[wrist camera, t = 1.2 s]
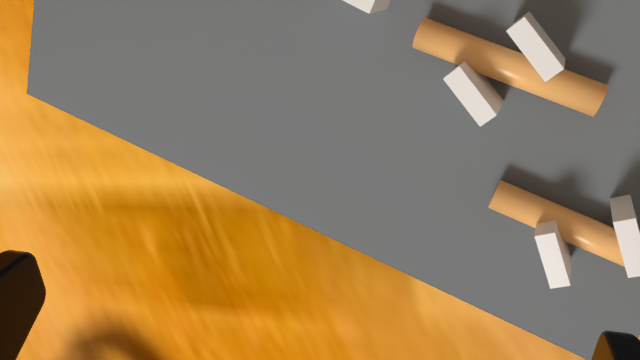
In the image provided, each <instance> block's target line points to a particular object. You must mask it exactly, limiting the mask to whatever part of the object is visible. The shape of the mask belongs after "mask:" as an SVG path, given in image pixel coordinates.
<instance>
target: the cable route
mask: <svg viewBox="0 0 640 360" xmlns="http://www.w3.org/2000/svg"><path fill="white" fill-rule="evenodd" d="M343 1H345V2H347V3H349V4H351V5H353V6H355V7H356V8H358V9H360V10H362V11H364V12H366V13H368V14H371V13H374V12H378V11H381V10H385V9H387V8H388V6H389V4H390V2H391V0H343ZM506 32H507V33H508V34H509V36H510V37H511V38H512V40H513V41H514V42H515V44H516V45H517V46H518V47H519V49H520V50H521V51H522V53H520V52H517V51H514V50H512V49H509V48H506V47H504V46H501V45H498V44H496V43H493V42H490V41H487V40H485V39H482V38H479V37H477V36H474V35H471V34H469V33H466V32H463V31H460V30H458V29H455V28H452V27H450V26H447V25H444V24H441V23H439V22H436V21H433V20H431V19H428V18H425V17H424V18H423V20H422V21H421V23H420V25H419V27H418V29H417V32H416V34H415V37H414V40H413V45H412V47H413V48H415V49H417V50H420V51H422V52H425V53H428V54H430V55H433V56H435V57H438V58H441V59H443V60H446V61H448V62H451V63H454V64H456V65H458V66H456V67H455V68H454V69H453V70H452V71H451V72H450V73H449V74H447V75H446V76H445V77H444V78H443V80H444V81H445V82H446V84H447V85H448V86H449V87H450V89H451V90H452V91H453V93H454V94H455V95H456V97H457V98H458V99H459V100H460V102H461V103H462V104H463V106H464V107H465V108H466V109H467V111H468V112H469V113H470V115H471V116H472V117H473V119H474V120H475V121H476V122H477V124H478V125H479V126H482V125H483V124H485V123H486V122H488V121H489V120H491V119H492V118H493V117H495V116H496V115H497V114H498V112H499V110H500V108H501V106H502V104H503V102H504V100H503V99H502V98H501V96H500V95H499V94H498V93H497V91H496V90H495V89H494V87H493V86H492V85H491V83H490V82H489V81H488V80H487V78H486V77H485V76H487V77H490V78H493V79H495V80H498V81H500V82H503V83H506V84H508V85H511V86H514V87H516V88H519V89H521V90H524V91H527V92H529V93H532V94H534V95H537V96H540V97H542V98H545V99H547V100H550V101H553V102H555V103H558V104H560V105H563V106H566V107H568V108H571V109H573V110H576V111H579V112H581V113H584V114H586V115H589V116H592V117H593V116H594V115H595V114H596V112H597V111H598V109H599V107H600V105H601V104H602V102H603V99H604V97H605V95H606V93H607V90H608V85H606V84H604V83H601V82H598V81H595V80H593V79H590V78H587V77H585V76H582V75H579V74H577V73H574V72H571V71H568V70H566V69H564V66H565V57H564V56H563V55H562V53H561V52H560V51H559V49H558V48H557V47H556V45H555V44H554V43H553V41H552V40H551V39H550V38H549V36H548V35H547V34H546V32H545V31H544V30H543V28H542V27H541V26H540V24H539V23H538V22H537V20H536V19H535V18H534V17H533V15H532V14H531V13H530V11H529V12H527V13H526V14H525V15H523V16H522V17H521V18H520V19H518V20H517V21H516V22H514V23H513V24H512V25H511V26H510V27H509V28H508V29H507V30H506ZM484 75H485V76H484ZM610 206H611V213H612V220H613V225H614V228H613V227H611V226H608V225H606V224H604V223H601V222H599V221H597V220H594V219H592V218H590V217H587V216H585V215H582V214H580V213H578V212H575V211H573V210H571V209H568V208H566V207H563V206H561V205H559V204H556V203H554V202H552V201H549V200H547V199H544V198H542V197H540V196H537V195H535V194H533V193H530V192H528V191H526V190H523V189H521V188H518V187H516V186H514V185H511V184H509V183H507V182H504V181H502V180H500V182H499V184H498V186H497V188H496V190H495V192H494V194H493V197H492V199H491V201H490V203H489V206H488V208H490V209H492V210H494V211H497V212H499V213H501V214H504V215H506V216H508V217H510V218H513V219H515V220H517V221H520V222H522V223H524V224H527V225H529V226H531V227H533V228H536V229H535V236H534V237H535V240H536V243H537V247H538V250H539V253H540V256H541V260H542V263H543V266H544V270H545V273H546V276H547V280H548V283H549V286H550V289H552V288H559V287H566V286H571V256H570V252H569V249H568V245H567V242H568V243H570V244H573V245H575V246H577V247H580V248H582V249H584V250H586V251H589V252H591V253H593V254H596V255H598V256H600V257H603V258H605V259H607V260H609V261H612V262H614V263H616V264H619V265H621V266H623V267H625V269H626V272H627V276H628V278H631V277H638V276H640V229H639V225H638V222H637V218H636V214H635V210H634V207H633V203H632V199H631V195H630V194H629V195H624V196H619V197H614V198H610Z"/></svg>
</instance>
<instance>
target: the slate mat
mask: <svg viewBox="0 0 640 360" xmlns="http://www.w3.org/2000/svg"><path fill="white" fill-rule="evenodd" d="M529 11H530V13H531V14H532V15H533V17H534V18H535V19H536V20H537V22H538V23H539V24H540V26H541V27H542V28H543V30H544V31H545V32H546V34H547V35H548V36H549V38H550V39H551V40H552V41H553V43H554V44H555V45H556V47H557V48H558V49H559V51H560V52H561V53H562V55H563V56H564V57H565V66H564V69H566V70H568V71H571V72H574V73H577V74H579V75H582V76H585V77H587V78H590V79H593V80H595V81H598V82H601V83H604V84H606V85H608V90H607V93H606V95H605V97H604V99H603V102H602V104H601V105H600V107H599V109H598V111H597V112H596V114H595V115H594V116H593V117H592V116H589V115H586V114H584V113H581V112H579V111H576V110H573V109H571V108H568V107H566V106H563V105H560V104H558V103H555V102H553V101H550V100H547V99H545V98H542V97H540V96H537V95H534V94H532V93H529V92H527V91H524V90H521V89H519V88H516V87H514V86H511V85H508V84H506V83H503V82H500V81H498V80H495V79H493V78H490V77H487V76H485V75H484V76H485V77H486V78H487V80H488V81H489V82H490V83H491V85H492V86H493V87H494V89H495V90H496V91H497V93H498V94H499V95H500V96H501V98H502V99H503V100H504V102H503V104H502V106H501V108H500V110H499V112H498V114H497V115H496V116H495V117H493V118H492V119H491V120H489V121H488V122H486V123H485V124H483V125H482V126H479V125H478V124H477V122H476V121H475V120H474V119H473V117H472V116H471V115H470V113H469V112H468V111H467V109H466V108H465V107H464V106H463V104H462V103H461V102H460V100H459V99H458V98H457V97H456V95H455V94H454V93H453V91H452V90H451V89H450V87H449V86H448V85H447V84H446V82H445V81H444V80H443V78H444V77H445V76H446V75H447V74H449V73H450V72H451V71H452V70H453V69H454V68H455V67H456V66H458V65H456V64H454V63H451V62H448V61H446V60H443V59H441V58H438V57H435V56H433V55H430V54H428V53H425V52H422V51H420V50H417V49H415V48H413V47H412V45H413V40H414V37H415V34H416V32H417V29H418V27H419V25H420V23H421V21H422V20H423V18H424V17H425V18H428V19H431V20H433V21H436V22H439V23H441V24H444V25H447V26H450V27H452V28H455V29H458V30H460V31H463V32H466V33H469V34H471V35H474V36H477V37H479V38H482V39H485V40H487V41H490V42H493V43H496V44H498V45H501V46H504V47H506V48H509V49H512V50H514V51H517V52H520V53H522V51H521V50H520V49H519V47H518V46H517V45H516V44H515V42H514V41H513V40H512V38H511V37H510V36H509V34H508V33H507V32H506V30H507V29H508V28H509V27H510V26H511V25H512V24H513V23H514V22H516V21H517V20H518V19H520V18H521V17H522V16H523V15H525V14H526V13H527V12H529ZM27 94H29V95H31V96H33V97H35V98H37V99H39V100H41V101H44V102H46V103H48V104H50V105H52V106H54V107H56V108H58V109H60V110H63V111H65V112H67V113H69V114H71V115H73V116H75V117H77V118H79V119H81V120H84V121H86V122H88V123H90V124H92V125H94V126H96V127H98V128H100V129H103V130H105V131H107V132H109V133H111V134H113V135H115V136H117V137H119V138H121V139H124V140H126V141H128V142H130V143H132V144H134V145H136V146H138V147H140V148H143V149H145V150H147V151H149V152H151V153H153V154H155V155H157V156H159V157H161V158H164V159H166V160H168V161H170V162H172V163H174V164H176V165H178V166H180V167H183V168H185V169H187V170H189V171H191V172H193V173H195V174H197V175H199V176H202V177H204V178H206V179H208V180H210V181H212V182H214V183H216V184H218V185H220V186H223V187H225V188H227V189H229V190H231V191H233V192H235V193H237V194H239V195H242V196H244V197H246V198H248V199H250V200H252V201H254V202H256V203H258V204H260V205H263V206H265V207H267V208H269V209H271V210H273V211H275V212H277V213H279V214H282V215H284V216H286V217H288V218H290V219H292V220H294V221H296V222H298V223H300V224H303V225H305V226H307V227H309V228H311V229H313V230H315V231H317V232H319V233H322V234H324V235H326V236H328V237H330V238H332V239H334V240H336V241H338V242H341V243H343V244H345V245H347V246H349V247H351V248H353V249H355V250H357V251H359V252H362V253H364V254H366V255H368V256H370V257H372V258H374V259H376V260H378V261H381V262H383V263H385V264H387V265H389V266H391V267H393V268H395V269H397V270H399V271H402V272H404V273H406V274H408V275H410V276H412V277H414V278H416V279H418V280H421V281H423V282H425V283H427V284H429V285H431V286H433V287H435V288H437V289H440V290H442V291H444V292H446V293H448V294H450V295H452V296H454V297H456V298H458V299H461V300H463V301H465V302H467V303H469V304H471V305H473V306H475V307H477V308H480V309H482V310H484V311H486V312H488V313H490V314H492V315H494V316H496V317H498V318H501V319H503V320H505V321H507V322H509V323H511V324H513V325H515V326H517V327H520V328H522V329H524V330H526V331H528V332H530V333H532V334H534V335H536V336H538V337H541V338H543V339H545V340H547V341H549V342H551V343H553V344H555V345H557V346H560V347H562V348H564V349H566V350H568V351H570V352H572V353H574V354H576V355H579V356H581V357H583V358H585V359H587V360H591V359H592V356H593V353H594V350H595V347H596V344H597V341H598V338H599V336H600V334H601V333H602V332H603V331H606V330H609V331H617V332H624V333H630V334H633V335H634V336H636V337H637V338H638V336H639V335H640V276H638V277H631V278H628V276H627V272H626V269H625V267H623V266H621V265H619V264H616V263H614V262H612V261H609V260H607V259H605V258H603V257H600V256H598V255H596V254H593V253H591V252H589V251H586V250H584V249H582V248H580V247H577V246H575V245H573V244H570V243H568V242H567V245H568V249H569V252H570V256H571V286H566V287H559V288H552V289H550V286H549V283H548V280H547V276H546V273H545V270H544V266H543V263H542V260H541V256H540V253H539V250H538V247H537V243H536V240H535V237H534V236H535V229H536V228H533V227H531V226H529V225H527V224H524V223H522V222H520V221H517V220H515V219H513V218H510V217H508V216H506V215H504V214H501V213H499V212H497V211H494V210H492V209H490V208H488V206H489V203H490V201H491V199H492V197H493V194H494V192H495V190H496V188H497V186H498V184H499V182H500V180H502V181H504V182H507V183H509V184H511V185H514V186H516V187H518V188H521V189H523V190H526V191H528V192H530V193H533V194H535V195H537V196H540V197H542V198H544V199H547V200H549V201H552V202H554V203H556V204H559V205H561V206H563V207H566V208H568V209H571V210H573V211H575V212H578V213H580V214H582V215H585V216H587V217H590V218H592V219H594V220H597V221H599V222H601V223H604V224H606V225H608V226H611V227H613V228H614V225H613V220H612V213H611V206H610V198H614V197H619V196H624V195H629V194H630V195H631V199H632V203H633V207H634V210H635V214H636V218H637V222H638V225H639V229H640V0H391V2H390V4H389V6H388V8H387V9H385V10H381V11H378V12H374V13H371V14H368V13H366V12H364V11H362V10H360V9H358V8H356V7H355V6H353V5H351V4H349V3H347V2H345V1H343V0H34V12H33V25H32V37H31V50H30V62H29V74H28V87H27Z"/></svg>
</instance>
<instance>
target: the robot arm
mask: <svg viewBox="0 0 640 360" xmlns="http://www.w3.org/2000/svg"><path fill="white" fill-rule="evenodd" d="M45 296H46V289H45V286H44V282H43V279H42V276H41V273H40V270H39V267H38V264H37V261H36V258H35V257H34V256H33V255H32V254H31V253H28V252H22V251H14V250H8V251H4V252H2V253H0V360H16V358H17V356H18V354H19V352H20V350H21V348H22V346H23V344H24V342H25V340H26V338H27V336H28V334H29V332H30V330H31V328H32V326H33V324H34V322H35V320H36V318H37V316H38V314H39V312H40V310H41V308H42V306H43V304H44V301H45ZM591 360H640V340H639V339H638V338H637V337H636V336H634V335H633V334H630V333H624V332H617V331H609V330H606V331H603V332H602V333H601V334H600V336H599V338H598V341H597V344H596V347H595V350H594V353H593V356H592V359H591Z"/></svg>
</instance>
